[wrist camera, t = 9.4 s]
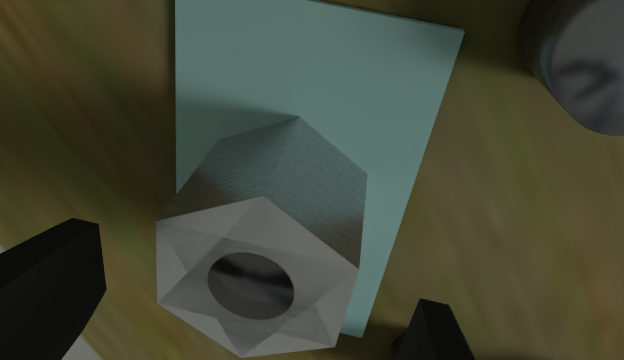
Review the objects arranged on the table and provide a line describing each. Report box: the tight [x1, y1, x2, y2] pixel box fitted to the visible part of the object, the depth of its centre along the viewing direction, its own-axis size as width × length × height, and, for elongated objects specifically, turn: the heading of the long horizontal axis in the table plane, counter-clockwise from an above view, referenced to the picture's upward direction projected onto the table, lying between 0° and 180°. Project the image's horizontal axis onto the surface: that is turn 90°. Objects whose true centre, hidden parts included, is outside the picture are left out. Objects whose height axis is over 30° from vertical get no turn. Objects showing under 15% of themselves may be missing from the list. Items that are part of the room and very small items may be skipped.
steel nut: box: [156, 117, 368, 358], centre depth 12 cm, size 5×4×4 cm
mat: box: [175, 0, 465, 338], centre depth 13 cm, size 11×7×1 cm, turn 171°
